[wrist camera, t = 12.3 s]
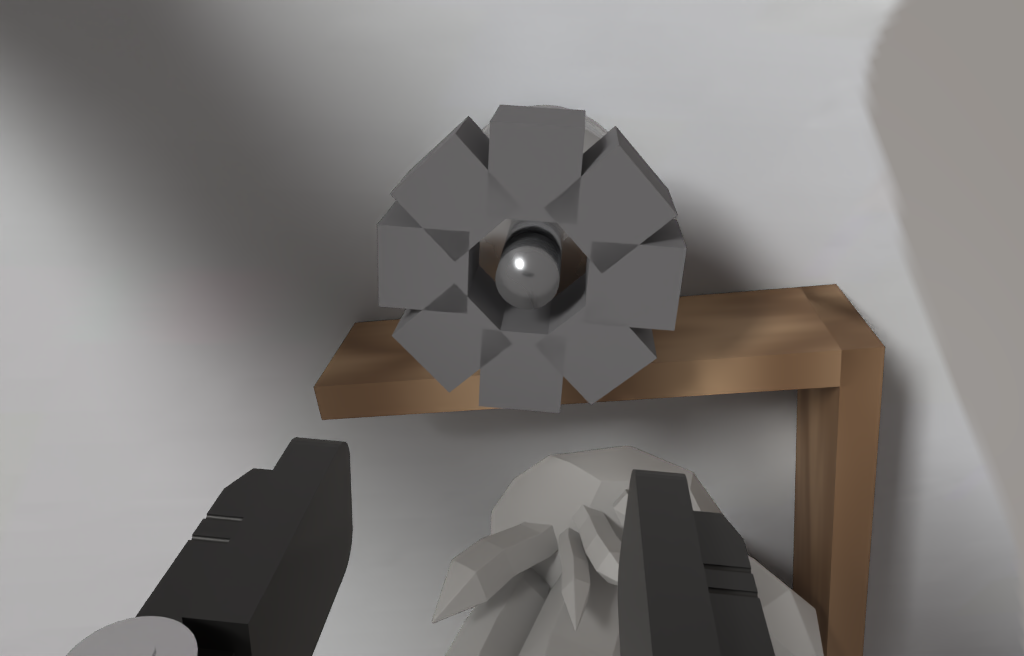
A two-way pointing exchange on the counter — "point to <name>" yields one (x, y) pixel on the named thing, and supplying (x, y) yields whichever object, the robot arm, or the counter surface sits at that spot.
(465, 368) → the wheel
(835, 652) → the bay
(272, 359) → the counter surface
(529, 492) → the crystal
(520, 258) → the axle mount
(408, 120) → the counter surface
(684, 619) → the robot arm
